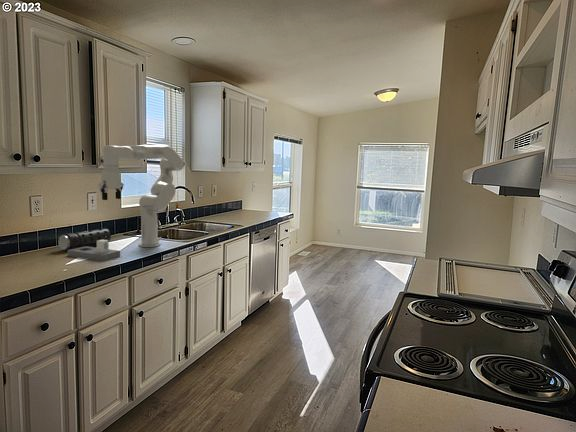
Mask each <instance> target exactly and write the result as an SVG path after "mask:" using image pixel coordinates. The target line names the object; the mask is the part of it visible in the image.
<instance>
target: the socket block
mask: <svg viewBox="0 0 576 432" xmlns="http://www.w3.org/2000/svg"><path fill="white" fill-rule="evenodd" d="M66 251H67V256H68V257H74V258H81V259H86V260H93V261H99V262H105V261H108V260H112V259H116V258H119V257H121V251H120V250H116V249H110V248H109V252H106V253H97V246H96V247H95V246H91V247H88V246H85V247H80V248H75V249H71V250H66Z"/></svg>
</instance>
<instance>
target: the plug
mask: <svg viewBox="0 0 576 432" xmlns="http://www.w3.org/2000/svg"><path fill="white" fill-rule="evenodd" d="M109 242H110V241H108V240H98V241H97V246H96V248H97V253H106V252H109V249H110V247H109Z"/></svg>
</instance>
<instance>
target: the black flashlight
mask: <svg viewBox="0 0 576 432" xmlns="http://www.w3.org/2000/svg"><path fill="white" fill-rule="evenodd" d="M111 235H112V234H111V231H110V230H109V229H108V228H100V229H93V230H86V231H80V232H79V231H78V232H68V233H64V234H62V235H60V236H59V237H58V240H57V243H58V247H59V248H60V250H63V251H67V250H71V249H75V248H80V247H85V246H88V247H95V246H96V247H97V241H98V240H108V241H109V242H110V241H111V238H112V236H111Z"/></svg>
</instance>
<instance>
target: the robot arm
mask: <svg viewBox="0 0 576 432" xmlns="http://www.w3.org/2000/svg"><path fill="white" fill-rule="evenodd" d="M102 153H103V159H102V161H103V170H102V172H101V177H100V183H98V184H97V186H98V189H99V191H100V193H101V200H102V201H108V198H109V196H108V191H109V190H115V199H116V200H117V199H118V200H121V199H122V190H123V189H124V185H125V184H124V183H123V182H121V174H120V171H119V169H120V167H119V160H122V161H124V160H125V161H128V160H141V161H143V160H160V161H159V167H160V169H159V170H160V174H159V176H158V178H157V179H156V181H155V182H154V184H153V185H152V186H151V188H150V193H151V194H145V195H142V196H141V197H140V199H139V202H138V203H139V204H138V205H139V210H140V221H141V222H140V229H141V230H140V231H141V232H140V233H141V239H140V241H141V242H139V243H138V247H141V248H155V247H160V246H161V243H160V241H162V240H163V239H162V237H161V236H160V237H158V214H157V212H163V211H164V210H165V209H167V207H168V205H170V203H171V201H172V200H173V198H174V197H175V195H176V189H177V188H176V187H175V185H174V184H173V181H174V176H173V172H174V171H175V172H179V171H181V170H183V169H184V166H185V163H184V160H183V158H182V157H181V156H180V154H178V153H177V151H176V150H175V149H174V148H173V147H172V146H170V145H168V144H140V145H139V144H138V145H107V144H106V145H103V147H102ZM172 171H173V172H172Z"/></svg>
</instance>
